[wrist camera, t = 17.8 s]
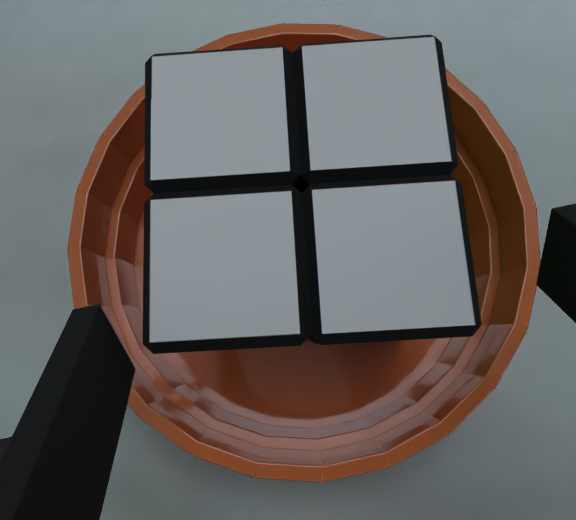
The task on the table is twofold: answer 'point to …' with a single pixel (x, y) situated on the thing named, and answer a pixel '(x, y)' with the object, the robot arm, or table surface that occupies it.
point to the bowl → (309, 356)
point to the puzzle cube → (303, 198)
